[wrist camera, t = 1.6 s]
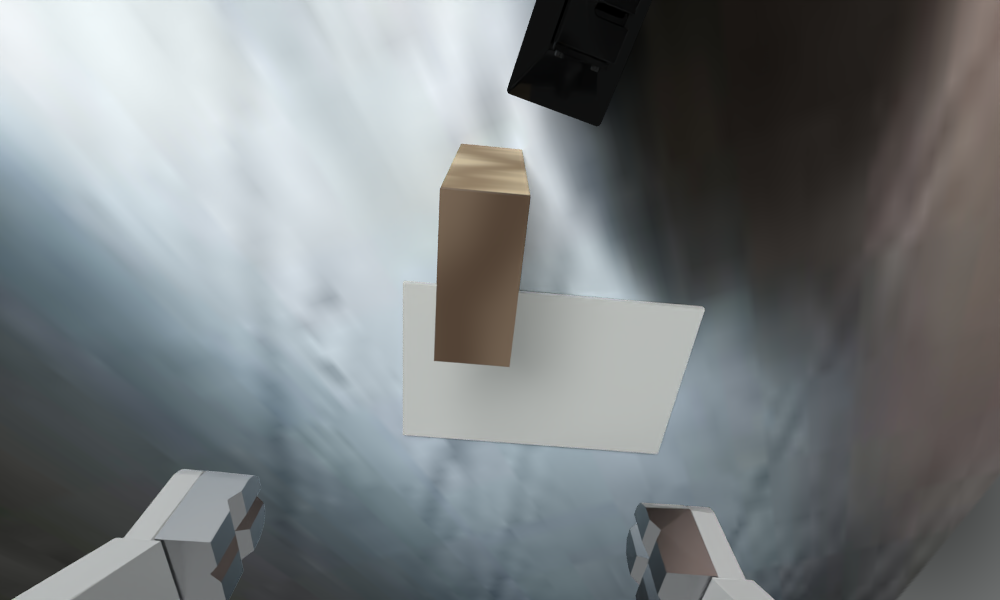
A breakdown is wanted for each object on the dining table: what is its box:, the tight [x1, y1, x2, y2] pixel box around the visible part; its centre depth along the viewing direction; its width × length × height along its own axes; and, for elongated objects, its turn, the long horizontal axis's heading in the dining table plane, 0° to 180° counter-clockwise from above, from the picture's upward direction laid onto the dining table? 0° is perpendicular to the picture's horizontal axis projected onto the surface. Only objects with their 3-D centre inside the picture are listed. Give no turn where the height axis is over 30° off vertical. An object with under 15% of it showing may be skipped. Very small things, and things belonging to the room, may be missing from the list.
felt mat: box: [403, 281, 705, 454], centre depth 35 cm, size 20×13×1 cm, turn 85°
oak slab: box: [434, 144, 530, 367], centre depth 25 cm, size 4×8×10 cm, turn 175°
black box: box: [507, 0, 652, 126], centre depth 23 cm, size 12×7×5 cm, turn 161°
